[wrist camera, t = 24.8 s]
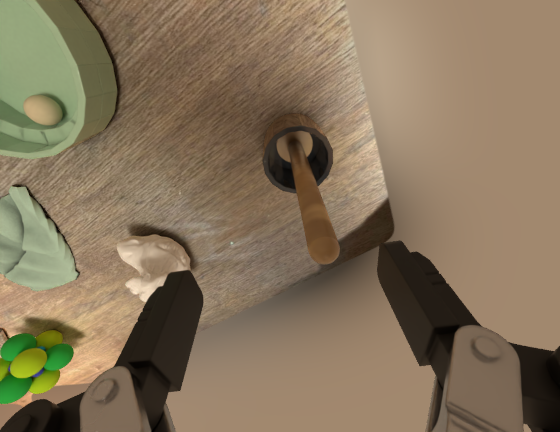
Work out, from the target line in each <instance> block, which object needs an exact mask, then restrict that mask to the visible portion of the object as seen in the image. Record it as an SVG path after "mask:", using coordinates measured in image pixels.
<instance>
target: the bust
mask: <svg viewBox="0 0 560 432" xmlns="http://www.w3.org/2000/svg"><path fill="white" fill-rule="evenodd" d="M117 250H118V253H119V255H120V257H121V258H122V260H123V261H125V262H126V263H128V264H130V265H132V266H133V267H134V268H136V269H137V270H139V273H140V274H141V277H132V278H131V279H129V280H127V281H126V283H125V286H126V287H128V288H130V292H132V293H133V294H138V293H139V298H140V299H141V301H143V302H147V300H148V298H149V297H150V295H151V294H152V293H153V292H154V291H155V290H156V289H157V288H158V287H159V286H163V284H164V282H165V280H166V278H167V276H168V274H169V273H170V272H176V271H183V270H190V271H191V269H190V258H189V257H188V255H187V254H186V252H185V249H184V248H183V247H182V246H181V245H179V244H178V243H177V242H175V241H174V240H173V239H171V238H168V237H161V236H159V235H155V234H154V235H149V236H144V237H141V236H131V237H129V238H127V239H124V240H122V241H120V242H119V243H118V244H117Z"/></svg>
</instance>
